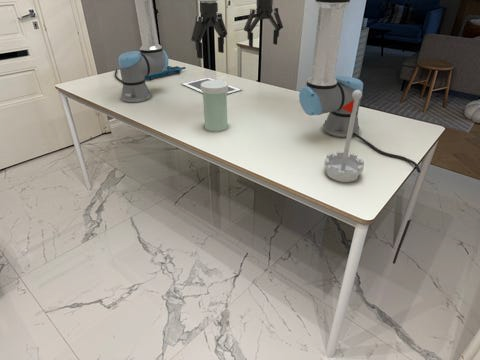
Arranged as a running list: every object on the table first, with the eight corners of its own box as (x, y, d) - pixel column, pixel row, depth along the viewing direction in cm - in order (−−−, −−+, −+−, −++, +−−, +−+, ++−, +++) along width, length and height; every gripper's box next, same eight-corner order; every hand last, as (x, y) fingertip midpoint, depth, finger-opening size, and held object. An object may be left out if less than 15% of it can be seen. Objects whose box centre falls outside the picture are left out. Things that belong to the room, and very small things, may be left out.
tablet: (181, 84, 205) (181, 83, 205) (208, 77, 216) (208, 77, 216) (213, 98, 185) (213, 97, 185) (241, 90, 196) (241, 89, 196)
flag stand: (346, 161, 127) (361, 81, 110) (369, 179, 117) (390, 94, 100) (316, 168, 123) (327, 86, 106) (337, 186, 113) (353, 99, 96)
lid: (224, 84, 150) (224, 79, 149) (231, 92, 141) (231, 87, 140) (198, 86, 148) (198, 81, 146) (203, 95, 138) (203, 89, 137)
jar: (224, 121, 159) (223, 80, 148) (229, 130, 151) (228, 87, 140) (203, 123, 157) (200, 82, 146) (207, 132, 148) (204, 89, 138)
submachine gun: (171, 61, 241) (190, 66, 224) (171, 66, 243) (190, 72, 226) (125, 69, 222) (142, 76, 205) (126, 75, 224) (143, 82, 207)
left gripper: (193, 5, 130) (196, 62, 142) (234, 0, 146) (235, 51, 158) (179, 3, 134) (184, 59, 146) (221, -2, 150) (223, 49, 162)
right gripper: (283, -6, 163) (280, 41, 174) (236, -3, 154) (237, 46, 166) (292, -4, 157) (288, 44, 169) (243, -2, 148) (243, 49, 160)
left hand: (210, 55), depth 152 cm, fingers open, 13 cm apart
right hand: (263, 45), depth 167 cm, fingers open, 13 cm apart
